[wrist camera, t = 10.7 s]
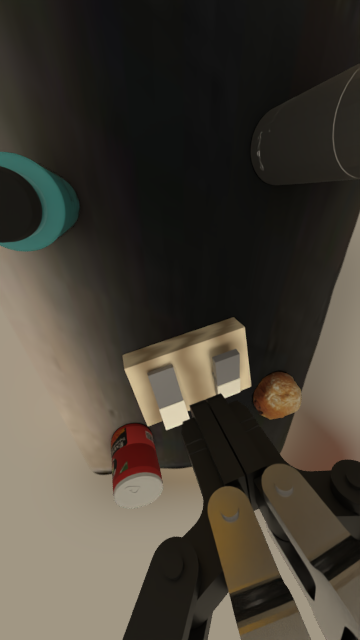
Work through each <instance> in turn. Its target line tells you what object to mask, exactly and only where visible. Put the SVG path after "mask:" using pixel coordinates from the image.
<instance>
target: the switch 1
mask: <svg viewBox="0 0 360 640" xmlns="http://www.w3.org/2000/svg"><path fill="white" fill-rule="evenodd" d="M147 374H148V378H149V381H150V383H151V386H152V389H153V392H154V395H155V398H156V401H157V404H158V407H159V411H160V414H161V417H162V419H163V422H164V425H165V428H166V430H168V429H171V428H174V427H176V426H179V425H181V424H182V423H183V421H186V420H188V419H189V415H188V412H187V409H186V405H185V402H184V400H183V397H182V394H181V391H180V387H179V384H178V381H177V378H176V374H175V371H174V368H173V365H172V364H170V365H167V366H165V367H162V368H159V369H156V370H153V371H150V372H148V373H147Z"/></svg>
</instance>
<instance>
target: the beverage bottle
mask: <svg viewBox="0 0 360 640" xmlns="http://www.w3.org/2000/svg"><path fill="white" fill-rule="evenodd" d="M43 166H44V165H43ZM46 168H47V167H46ZM54 173H55V172H54ZM54 173H53V171H48V170H46V169H45V168H43V167H41V166H40V165H38V164H37V163H35V162H34V161H32V160H30V159H28V158H26V157H23V156H21V155H18V154H14V153H9V152H0V245H1V246H3V247H5V248H8V249H12V250H16V251H35V250H39V249H42V248H44V247H47V246H48V245H50V244H51V243H53V242H54V241H55V240H56V239H57V238H58V237H59V236H61V235H62V234H63V235H64V233H65V232H67V230H68V229H69V228H70V227H72V226H73V225H74V223H75V222H76V220H77V218H78V217H79V211H80V207H79V203H80V202H79V201H78V200H79V199H78V198H79V197H77V193H76V192H75V191H74V190H73V188H72V186H71V185H70V184H68V183H67V182H68V181H67V182H66V181H65V180H64V179H65V178H64V179H62V178H61V177H62V176H60V177H59V176H57V175H55V174H54ZM58 175H59V174H58ZM80 212H81V211H80ZM77 221H78V220H77ZM76 223H77V222H76ZM73 227H74V226H73ZM73 227H72V228H73ZM72 228H71V229H72Z"/></svg>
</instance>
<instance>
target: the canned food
mask: <svg viewBox="0 0 360 640" xmlns="http://www.w3.org/2000/svg"><path fill="white" fill-rule="evenodd" d="M111 454H112V478H113V496H114V500H115V502H116V503H117V504H118V505H119V506H121V507H124V508H138V507H142V506H145V505H147V504H150V503H151V502H153V501H154V500H156V499H157V498H158V497H159V496H160V494H161V493H162V490H163V482H162V477H161V472H160V467H159V463H158V459H157V454H156V450H155V445H154V441H153V437H152V433H151V432H150V430H149V429H148V428H147V427H146V426H144V425H142V424H136V423H134V424H128V425H125V426H123V427H121V428H119V429H118V430H117V431H116V432H115V433H114V435H113V438H112V441H111Z"/></svg>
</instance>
